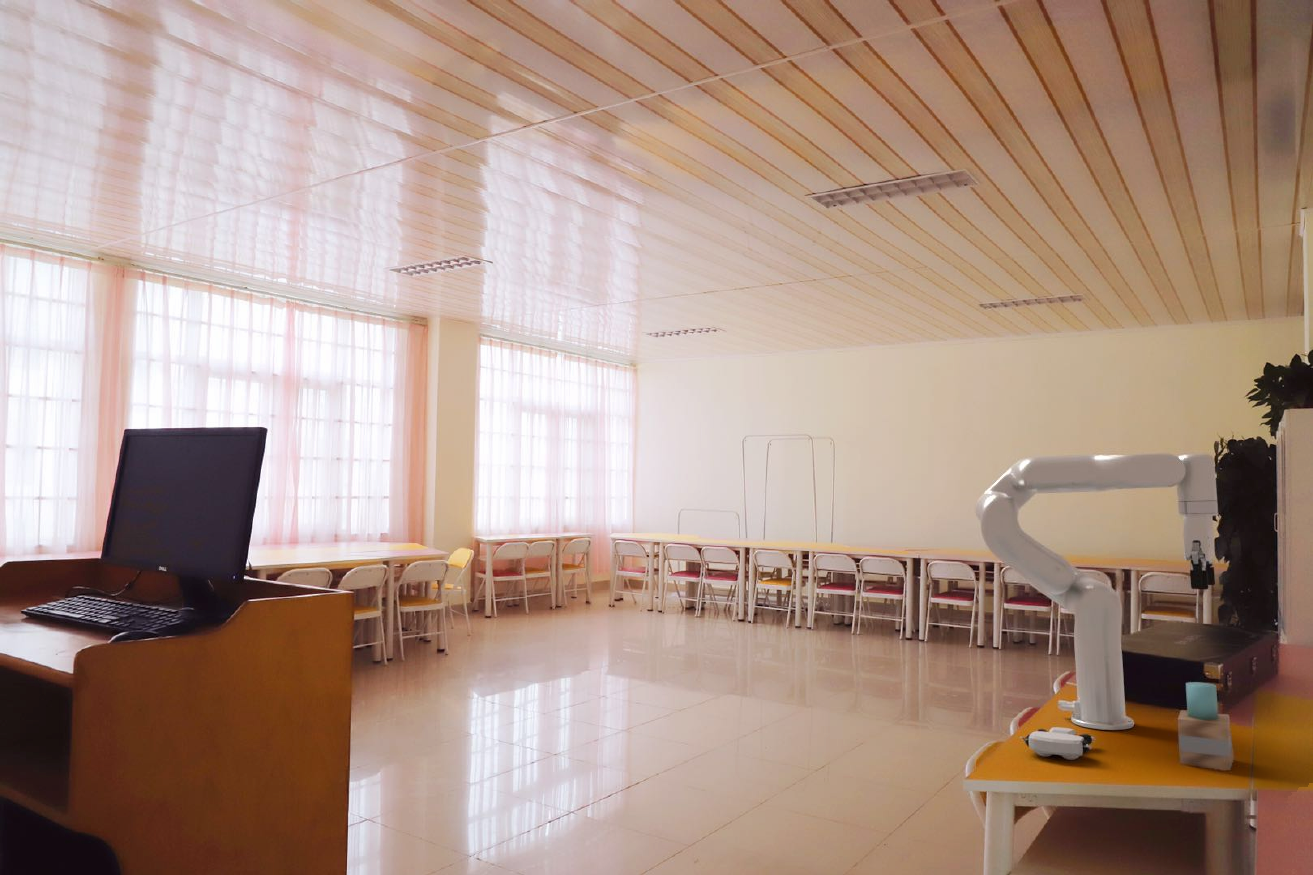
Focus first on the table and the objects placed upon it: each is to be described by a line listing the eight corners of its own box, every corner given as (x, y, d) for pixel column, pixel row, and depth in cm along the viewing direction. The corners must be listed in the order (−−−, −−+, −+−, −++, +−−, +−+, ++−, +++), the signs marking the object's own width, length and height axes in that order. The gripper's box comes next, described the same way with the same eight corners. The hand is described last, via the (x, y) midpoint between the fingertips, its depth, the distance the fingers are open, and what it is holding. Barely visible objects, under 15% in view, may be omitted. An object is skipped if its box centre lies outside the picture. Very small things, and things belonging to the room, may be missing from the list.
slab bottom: (1180, 766, 170) (1179, 750, 171) (1185, 756, 177) (1184, 740, 177) (1230, 773, 166) (1228, 756, 166) (1233, 762, 172) (1232, 746, 172)
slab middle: (1179, 750, 170) (1178, 734, 171) (1183, 740, 177) (1182, 725, 177) (1229, 756, 166) (1227, 740, 166) (1231, 746, 172) (1230, 730, 173)
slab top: (1178, 734, 170) (1177, 718, 171) (1182, 725, 177) (1181, 709, 177) (1228, 740, 166) (1227, 723, 166) (1230, 730, 173) (1229, 714, 173)
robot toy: (1034, 744, 189) (1020, 757, 177) (1034, 722, 190) (1019, 733, 177) (1099, 752, 182) (1088, 766, 170) (1098, 729, 183) (1087, 741, 171)
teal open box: (1185, 717, 172) (1183, 685, 172) (1190, 712, 175) (1188, 680, 176) (1215, 721, 168) (1214, 688, 169) (1219, 715, 172) (1218, 683, 173)
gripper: (1185, 508, 208) (1190, 582, 207) (1171, 510, 195) (1177, 590, 193) (1223, 507, 203) (1228, 583, 202) (1211, 510, 190) (1217, 591, 189)
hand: (1203, 586), depth 198 cm, fingers open, 9 cm apart
